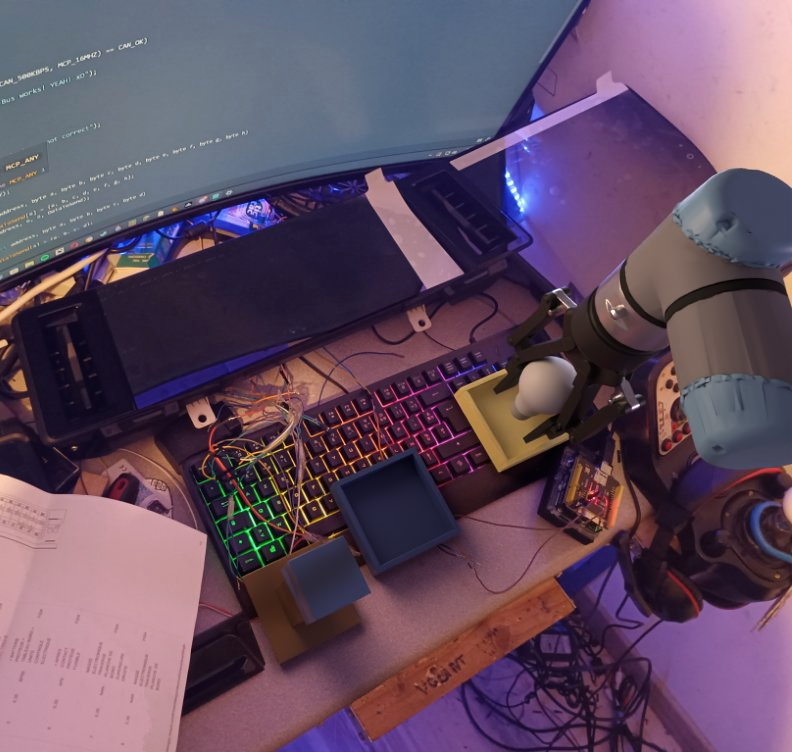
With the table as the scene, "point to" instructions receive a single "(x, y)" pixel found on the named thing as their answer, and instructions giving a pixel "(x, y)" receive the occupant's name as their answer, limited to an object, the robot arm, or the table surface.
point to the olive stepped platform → (291, 611)
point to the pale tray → (502, 422)
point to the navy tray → (394, 510)
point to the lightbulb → (543, 388)
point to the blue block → (325, 580)
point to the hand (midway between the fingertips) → (518, 411)
